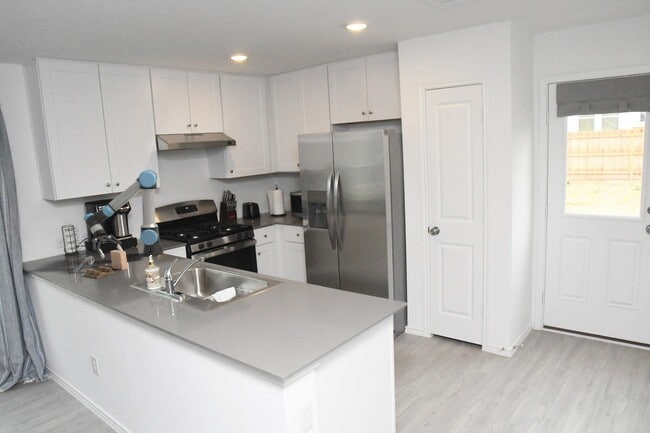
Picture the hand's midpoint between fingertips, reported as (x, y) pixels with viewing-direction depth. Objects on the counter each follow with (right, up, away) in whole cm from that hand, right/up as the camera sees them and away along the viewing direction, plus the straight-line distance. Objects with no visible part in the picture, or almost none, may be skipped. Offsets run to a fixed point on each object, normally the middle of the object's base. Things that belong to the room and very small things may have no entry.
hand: (113, 255), depth 317 cm
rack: (-3, -12, -13) cm, 18 cm away
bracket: (-24, -10, +8) cm, 27 cm away
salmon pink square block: (+5, -9, 0) cm, 10 cm away
